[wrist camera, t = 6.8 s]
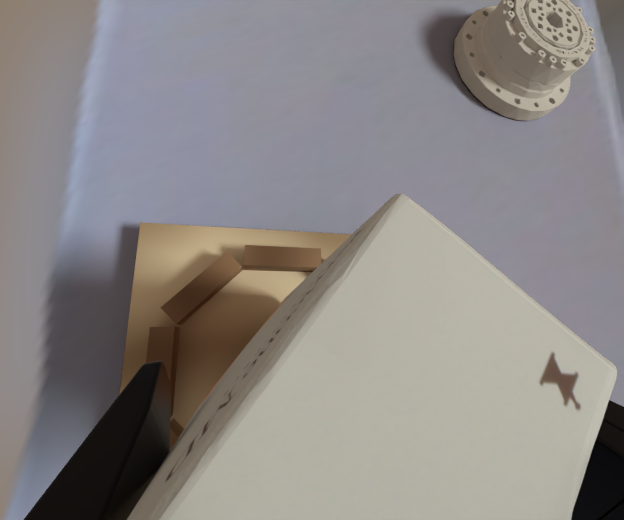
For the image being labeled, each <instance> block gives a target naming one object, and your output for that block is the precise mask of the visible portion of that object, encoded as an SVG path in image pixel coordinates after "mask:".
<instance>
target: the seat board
mask: <svg viewBox="0 0 624 520" xmlns="http://www.w3.org/2000/svg"><path fill="white" fill-rule="evenodd" d="M350 236H351V235H350V234H332V233H314V232H296V231H279V230H261V229H243V228H225V227H208V226H190V225H172V224H154V223H140V230H139V238H138V246H137V254H136V263H135V271H134V279H133V287H132V295H131V303H130V311H129V320H128V328H127V336H126V344H125V352H124V360H123V368H122V377H121V385H120V393H119V395H120V394H121V392H122V391H123V390H124V388H125V387H126V386H127V385H128V383H129V382H130V381H131V379H132V378H133V377H134V375H135V374H136V373H137V371H138V370H139V369H140V368H141V366H142V365H143V364H145V363H149V362H154V361H163V363H164V364H165V368H166V371H167V374H168V377H169V380H170V384H171V412H170V446H169V452H170V451H171V449H172V447H173V446H174V444H175V443H176V441H177V439H178V438H179V436H180V435H181V433H182V432H183V430H184V429H185V427H186V426H187V424H188V422H189V421H190V419H191V418H192V416H193V414H194V413H195V411H196V410H197V408H198V407H199V405H200V404H201V402H202V401H203V399H204V397H205V396H206V395H207V394H208V392H209V391H210V390H211V389H212V388H213V386H214V385H215V384H216V383H217V382H218V380H219V379H220V378H221V377H222V375H223V374H224V373H225V372H226V370H227V369H228V368H229V367H230V365H231V364H232V363H233V361H234V360H235V359H236V358H237V357H238V355H239V354H240V353H241V352H242V350H243V349H244V348H245V347H246V345H247V344H248V343H249V342H250V340H251V339H252V338H253V337H254V335H255V334H256V333H257V332H258V331H259V329H260V328H261V327H262V326H263V324H264V323H265V322H266V321H267V320H268V318H269V317H270V316H271V315H272V313H273V312H274V311H275V310H276V309H277V308H278V306H279V305H280V304H281V303H282V301H283V300H284V299H285V297H287V296H288V295H289V294H290V293H291V292H292V291H293V290H294V289H295V288H296V287H298V285H299V284H300V283H301V282H303V281H304V280H305V278H307V277H308V276H309V275H310V274H311V273H312V272H313V271H314V270H315V269H316V268H317V267H318V266H319V265H321V264H322V263H323V262H324V261H325V260H326V259H327V258H328V257H329V256H330V255H331V254H332V253H333V252H334V251H335V250H336V249H338V248H339V247H340V246H341V245H342V244H343V243H344V242H345V241H346V240H347V239H348V238H349V237H350Z"/></svg>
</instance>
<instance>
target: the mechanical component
mask: <svg viewBox="0 0 624 520" xmlns="http://www.w3.org/2000/svg"><path fill="white" fill-rule="evenodd" d="M582 12H583V11H582V9H581V8H579V7H575V6H574V5H573V4H572V3H571V2H570V1H569V0H502V1H501V2H500V3H499V5H498V6H488V7H485V8H482V9H480V10H477V11H475V12H474V13H473V14H472V15H471V16H470V17H469V18H468V19H467V20H466V22H465V23H464V25H463V26H462V28H461V30H460V31H459V33H458V35H457V37H456V38H455V43H454V58H455V63H456V67H457V69H458V71H459V74H460V76H461V78H462V80H463V81H464V83H465V84H466V85H467V87H468V88H469V90H470V91H471V92H472V94H473V95H474V96H476V97H477V98H478V99H479V100H480V101H481V102H482V103H483V104H484V105H485V106H487V107H488V108H490V109H492V110H493V111H495V112H497V113H499V114H501V115H503V116H505V117H508V118H512V119H515V120H524V121H528V120H534V119H539V118H540V117H542V116H544V115H546V114H547V113H549V112H550V111H551V110H553V109H554V108H555V107H557V106H558V105H559V104H561V103H562V102H563V101H564V99H565V98H566V96H567V95H568V91H569V88H570V76H571V75H572V74H573V73H574V72H576V71H577V70H578V69H579V68H581V67H582V66H583V65H584V64H585V63H586V62H587V61H588V59H589V56H590V55H591V54H592V53H593V52H594V51H595V48H594V46H592V45H593V44H594V43H595V41H596V40H595V39H594V37H592V36H590V35H591V34H592V33H593V31H594V30H593V29H592V28H591V27H588V26H587V23H586V21H585V19H584V18H583V16H582V14H581V13H582Z"/></svg>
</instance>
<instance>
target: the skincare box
mask: <svg viewBox="0 0 624 520" xmlns="http://www.w3.org/2000/svg"><path fill="white" fill-rule="evenodd" d="M616 379H617V369H616V367H615V366H614V364H612V363H611V362H610V361H608V360H607V359H606V358H604V357H603V356H602V355H601V354H599V353H598V352H597V351H596V350H594V349H593V348H592V347H591V346H589V345H588V344H587V343H586V342H584V341H583V340H582V339H581V338H579V337H578V336H577V335H576V334H575V333H573V332H572V331H571V330H570V329H569V328H567V327H566V326H565V325H564V324H562V323H561V322H560V321H559V320H558V319H556V318H555V317H554V316H553V315H551V314H550V313H549V312H548V311H547V310H545V309H544V308H543V307H542V306H541V305H539V304H538V303H537V302H536V301H535V300H533V299H532V298H531V297H530V296H529V295H527V294H526V293H525V292H524V291H523V290H521V289H520V288H519V287H518V286H517V285H516V284H514V283H513V282H512V281H511V280H510V279H509V278H507V277H506V276H505V275H504V274H503V273H502V272H500V271H499V270H498V269H497V268H495V267H494V266H493V265H492V264H491V263H489V262H488V261H487V260H486V259H485V258H483V257H482V256H481V255H480V254H479V253H477V252H476V251H475V250H474V249H473V248H472V247H470V246H469V245H468V244H467V243H466V242H464V241H463V240H462V239H461V238H460V237H458V236H457V235H456V234H455V233H453V232H452V231H451V230H450V229H448V228H447V227H446V226H445V225H443V224H442V223H441V222H440V221H438V220H437V219H436V218H435V217H433V216H432V215H431V214H429V213H428V212H427V211H426V210H424V209H423V208H422V207H420V206H419V205H418V204H416V203H415V202H414V201H412V200H411V199H409V198H408V197H407V196H405V195H404V194H396V195H394V196H393V197H391V198H390V199H389V200H388V201H387V202H386V203H385V204H384V205H383V206H382V207H381V208H380V209H379V210H378V211H377V212H376V213H375V214H374V215H373V216H372V217H370V218H369V219H368V220H367V221H366V222H365V223H364V224H363V225H362V226H361V227H360V228H359V229H357V230H356V231H355V232H354V233H353V234H352V235H351V236H350V237H349V238H348V239H347V240H346V241H345V242H344V243H343V244H342V245H341V246H340V247H339V248H338V249H336V250H335V251H334V252H333V253H332V254H331V255H330V256H329V257H328V258H327V259H326V260H325V261H324V262H323V263H322V264H321V265H319V266H318V267H317V268H316V269H315V270H314V271H313V272H312V273H311V274H310V275H309V276H308V277H307V278H305V280H304V281H303V282H301V283H300V284H299V285H298V287H296V288H295V289H294V290H293V291H292V292H291V293H290V294H289V295H288V296H287V297H285V299H284V300H283V301H282V303H281V304H280V305H279V306H278V308H277V309H276V310H275V311H274V312H273V313H272V315H271V316H270V317H269V318H268V320H267V321H266V322H265V323H264V324H263V326H262V327H261V328H260V329H259V331H258V332H257V333H256V334H255V335H254V337H253V338H252V339H251V340H250V342H249V343H248V344H247V345H246V347H245V348H244V349H243V350H242V352H241V353H240V354H239V355H238V357H237V358H236V359H235V360H234V361H233V363H232V364H231V365H230V367H229V368H228V369H227V370H226V372H225V373H224V374H223V375H222V377H221V378H220V379H219V380H218V382H217V383H216V384H215V385H214V386H213V388H212V389H211V390H210V391H209V392H208V394H207V395H206V396H205V397H204V399H203V401H202V402H201V404H200V405H199V407H198V408H197V410H196V411H195V413H194V414H193V416H192V418H191V419H190V421H189V422H188V424H187V426H186V427H185V429H184V430H183V432H182V433H181V435H180V436H179V438H178V439H177V441H176V443H175V444H174V446H173V447H172V449H171V451H170V452H169V454H168V455H167V457H166V459H165V460H164V462H163V463H162V465H161V466H160V468H159V470H158V471H157V473H156V474H155V476H154V477H153V479H152V481H151V482H150V484H149V485H148V487H147V488H146V490H145V492H144V493H143V495H142V496H141V498H140V500H139V501H138V503H137V504H136V506H135V508H134V509H133V511H132V512H131V514H130V516H129V517H128V519H127V520H571V517H572V511H573V508H574V505H575V502H576V499H577V496H578V493H579V490H580V487H581V484H582V481H583V478H584V475H585V471H586V468H587V465H588V462H589V458H590V455H591V452H592V449H593V446H594V443H595V441H596V438H597V435H598V432H599V429H600V427H601V424H602V421H603V418H604V414H605V411H606V408H607V405H608V402H609V399H610V396H611V393H612V390H613V387H614V384H615V382H616Z"/></svg>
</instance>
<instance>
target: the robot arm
mask: <svg viewBox="0 0 624 520" xmlns="http://www.w3.org/2000/svg"><path fill="white" fill-rule="evenodd" d="M170 412H171V384H170V380H169V377H168V374H167V371H166V368H165V364H164V363H163V361H154V362H149V363H145V364H143V365H142V366H141V368H140V369H139V370H138V371H137V373H136V374H135V375H134V377H133V378H132V379H131V381H130V382H129V383H128V385H127V386H126V387H125V388H124V390H123V391H122V392H121V394H120V395H119V396H118V398H117V399H116V400H115V401H114V403H113V404H112V405H111V407H110V408H109V409H108V411H107V412H106V413H105V414H104V416H103V417H102V418H101V420H100V421H99V422H98V424H97V425H96V426H95V428H94V429H93V430H92V431H91V433H90V434H89V435H88V437H87V438H86V439H85V441H84V442H83V443H82V444H81V446H80V447H79V448H78V450H77V451H76V452H75V454H74V455H73V456H72V457H71V459H70V460H69V461H68V463H67V464H66V465H65V467H64V468H63V469H62V471H61V472H60V473H59V474H58V476H57V477H56V478H55V480H54V481H53V482H52V484H51V485H50V486H49V487H48V489H47V490H46V491H45V493H44V494H43V495H42V497H41V498H40V499H39V500H38V502H37V503H36V504H35V506H34V507H33V508H32V510H31V511H30V512H29V514H28V515H27V516H26V517H25V519H24V520H127V519H128V517H129V516H130V514H131V512H132V511H133V509H134V508H135V506H136V504H137V503H138V501H139V500H140V498H141V496H142V495H143V493H144V492H145V490H146V488H147V487H148V485H149V484H150V482H151V481H152V479H153V477H154V476H155V474H156V473H157V471H158V470H159V468H160V466H161V465H162V463H163V462H164V460H165V459H166V457H167V455H168V454H169V446H170ZM571 520H624V407H623V406H621V405H618V404H616V403H614V402H612V401H610V400H609V402H608V405H607V408H606V411H605V414H604V418H603V421H602V424H601V427H600V429H599V432H598V435H597V438H596V441H595V443H594V446H593V449H592V452H591V455H590V458H589V462H588V465H587V468H586V471H585V475H584V478H583V481H582V484H581V487H580V490H579V493H578V496H577V499H576V502H575V505H574V508H573V511H572V517H571Z"/></svg>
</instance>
